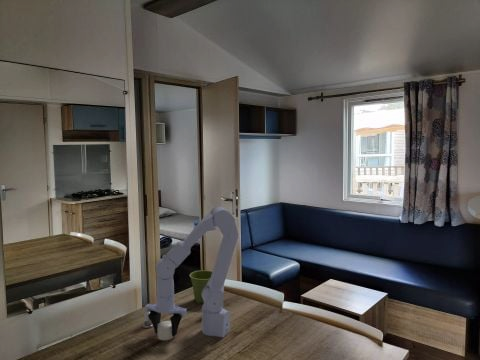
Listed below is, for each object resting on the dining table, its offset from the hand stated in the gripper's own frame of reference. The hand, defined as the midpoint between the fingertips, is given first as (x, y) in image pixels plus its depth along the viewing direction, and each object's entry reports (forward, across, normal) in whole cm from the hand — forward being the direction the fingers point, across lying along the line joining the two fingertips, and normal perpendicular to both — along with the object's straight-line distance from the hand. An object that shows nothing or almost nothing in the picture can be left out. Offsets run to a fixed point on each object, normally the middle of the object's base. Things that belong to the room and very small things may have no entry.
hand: (166, 333), depth 126 cm
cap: (+1, 0, 0) cm, 1 cm away
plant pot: (+2, 0, -34) cm, 34 cm away
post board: (+2, +4, -2) cm, 5 cm away
